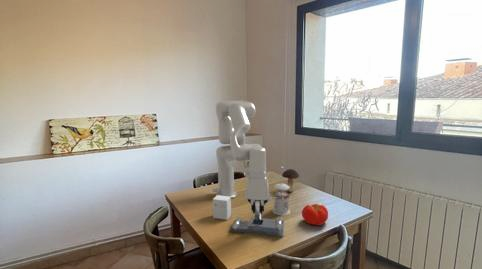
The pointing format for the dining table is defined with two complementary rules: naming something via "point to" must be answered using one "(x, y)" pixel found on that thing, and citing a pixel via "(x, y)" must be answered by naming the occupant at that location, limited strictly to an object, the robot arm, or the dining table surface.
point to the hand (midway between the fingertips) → (257, 212)
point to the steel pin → (257, 209)
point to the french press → (281, 204)
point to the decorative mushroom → (290, 178)
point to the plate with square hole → (259, 226)
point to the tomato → (315, 214)
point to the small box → (222, 207)
